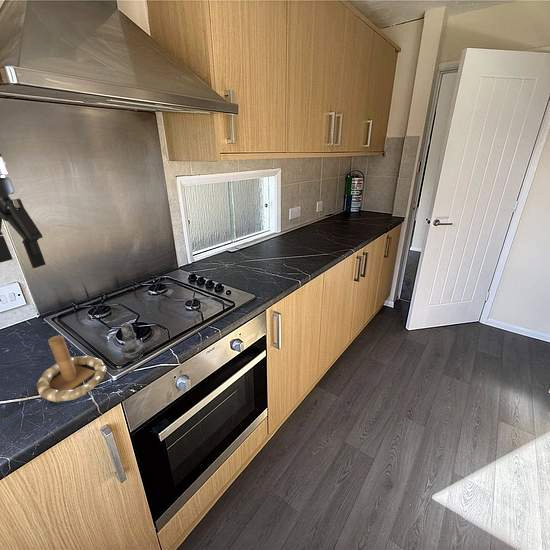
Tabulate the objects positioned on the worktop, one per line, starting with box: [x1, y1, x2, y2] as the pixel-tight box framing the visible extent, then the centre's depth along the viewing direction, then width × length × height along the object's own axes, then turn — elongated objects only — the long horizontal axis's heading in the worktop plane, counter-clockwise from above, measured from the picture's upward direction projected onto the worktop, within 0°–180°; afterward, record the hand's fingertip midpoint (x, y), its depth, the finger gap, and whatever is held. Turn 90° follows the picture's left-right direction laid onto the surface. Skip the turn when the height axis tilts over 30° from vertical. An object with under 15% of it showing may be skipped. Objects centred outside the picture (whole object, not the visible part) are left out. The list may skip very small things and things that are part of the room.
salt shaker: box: [120, 321, 144, 362], centre depth 82 cm, size 6×6×12 cm
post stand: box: [47, 334, 96, 391], centre depth 73 cm, size 8×8×14 cm
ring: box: [36, 355, 108, 403], centre depth 74 cm, size 14×14×2 cm
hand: (22, 263), depth 76 cm, fingers open, 13 cm apart
